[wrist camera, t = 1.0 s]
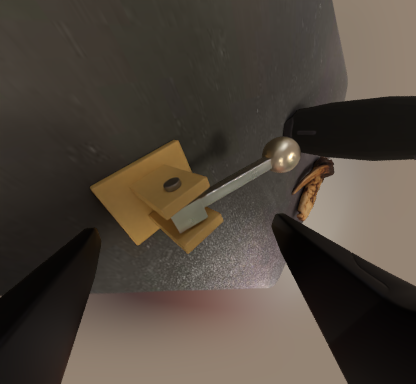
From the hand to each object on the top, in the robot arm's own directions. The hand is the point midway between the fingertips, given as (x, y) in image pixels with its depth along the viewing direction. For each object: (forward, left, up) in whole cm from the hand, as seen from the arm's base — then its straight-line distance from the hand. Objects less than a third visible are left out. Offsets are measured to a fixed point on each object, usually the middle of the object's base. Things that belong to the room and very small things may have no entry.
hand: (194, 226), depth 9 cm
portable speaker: (+28, -19, -13) cm, 36 cm away
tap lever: (+7, -5, -6) cm, 11 cm away
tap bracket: (+1, -3, -13) cm, 13 cm away
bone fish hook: (+26, -36, -13) cm, 46 cm away
